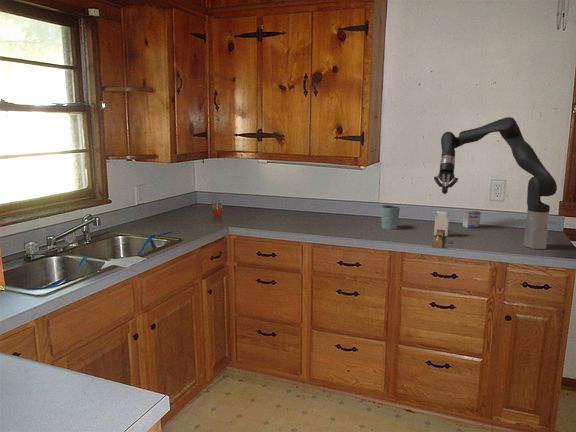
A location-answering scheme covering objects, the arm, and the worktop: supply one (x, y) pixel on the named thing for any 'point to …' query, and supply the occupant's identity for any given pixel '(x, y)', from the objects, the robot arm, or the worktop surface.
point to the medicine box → (471, 219)
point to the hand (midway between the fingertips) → (444, 193)
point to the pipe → (439, 239)
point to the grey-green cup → (390, 216)
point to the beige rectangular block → (441, 222)
